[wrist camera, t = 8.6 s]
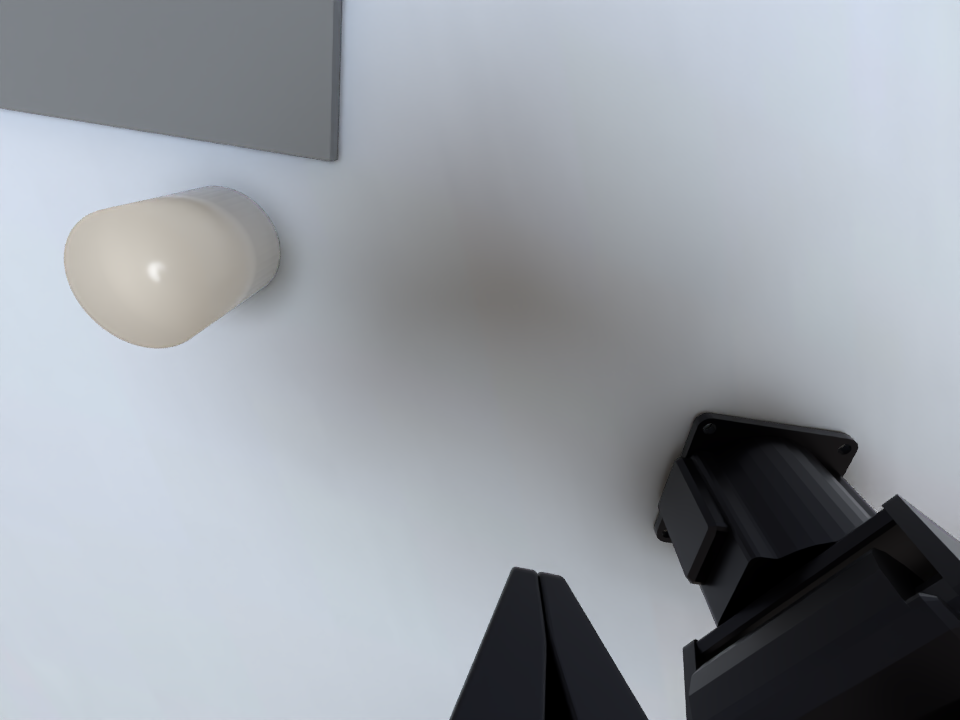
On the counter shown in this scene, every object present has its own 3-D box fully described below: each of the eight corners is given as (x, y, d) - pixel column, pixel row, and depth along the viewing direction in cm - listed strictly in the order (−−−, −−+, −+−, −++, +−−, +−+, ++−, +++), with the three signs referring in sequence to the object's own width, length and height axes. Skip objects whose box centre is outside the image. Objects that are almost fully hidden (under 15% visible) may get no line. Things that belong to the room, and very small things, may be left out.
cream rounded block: (279, 195, 18) (204, 221, 14) (281, 303, 20) (214, 357, 15) (164, 177, 18) (50, 196, 13) (176, 287, 20) (78, 337, 15)
